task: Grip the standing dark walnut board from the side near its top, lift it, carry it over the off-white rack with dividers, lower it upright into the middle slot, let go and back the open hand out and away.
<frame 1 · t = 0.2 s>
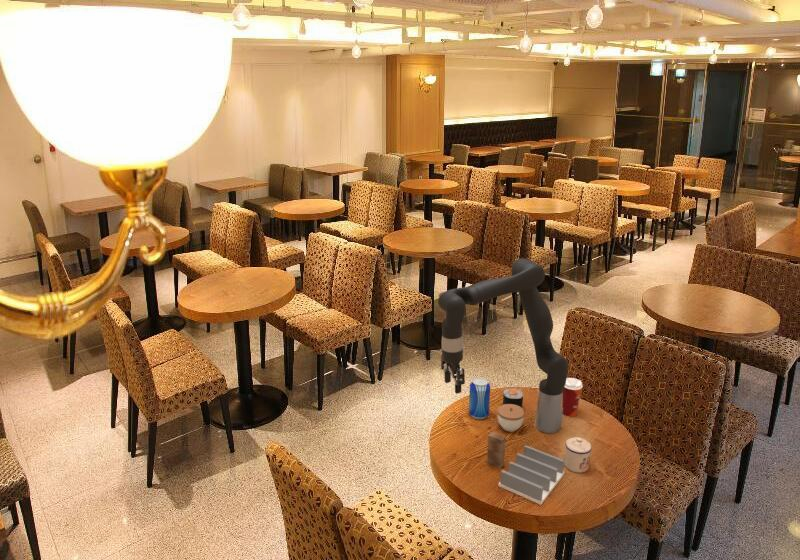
hand: (452, 387, 213), 29 cm above the table, tool pointing down, fingers open, 8 cm apart
sushi: (512, 408, 253), on the table
coffee cup: (569, 413, 249), on the table
beer can: (478, 415, 248), on the table
rack: (531, 479, 208), on the table
lidded jar: (509, 427, 239), on the table
teacup with lid: (577, 464, 217), on the table
walnut board: (495, 463, 217), on the table
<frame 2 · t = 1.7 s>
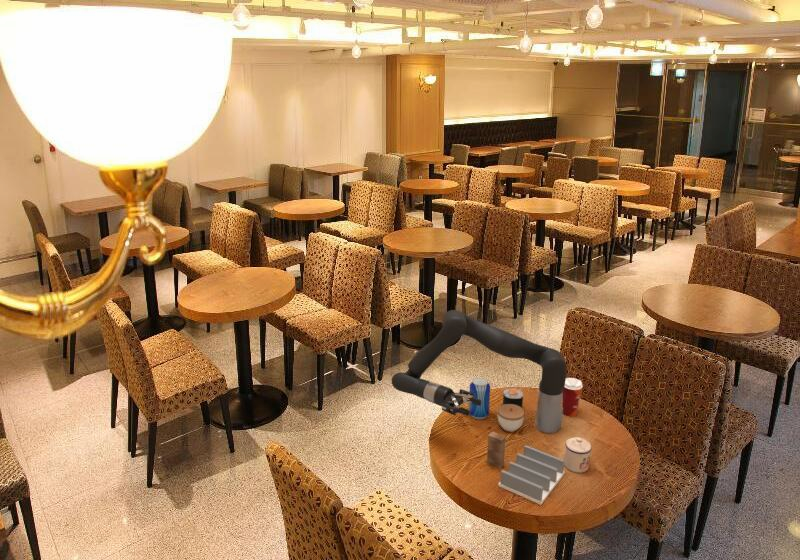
hand: (475, 408, 216), 20 cm above the table, tool horizontal, fingers open, 8 cm apart
nothing on the table moved.
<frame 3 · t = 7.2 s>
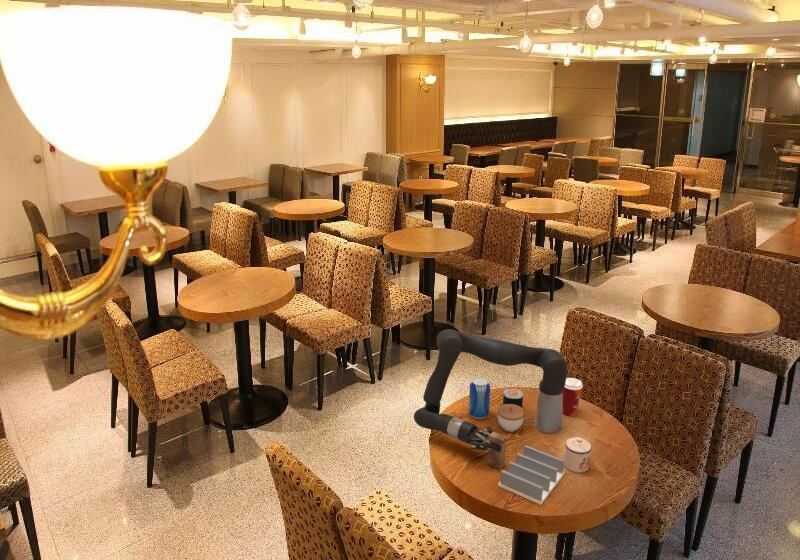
hand: (502, 446, 213), 9 cm above the table, tool horizontal, fingers closed on walnut board, 3 cm apart
walnut board: (496, 463, 217), on the table, touching gripper
everything else where it was.
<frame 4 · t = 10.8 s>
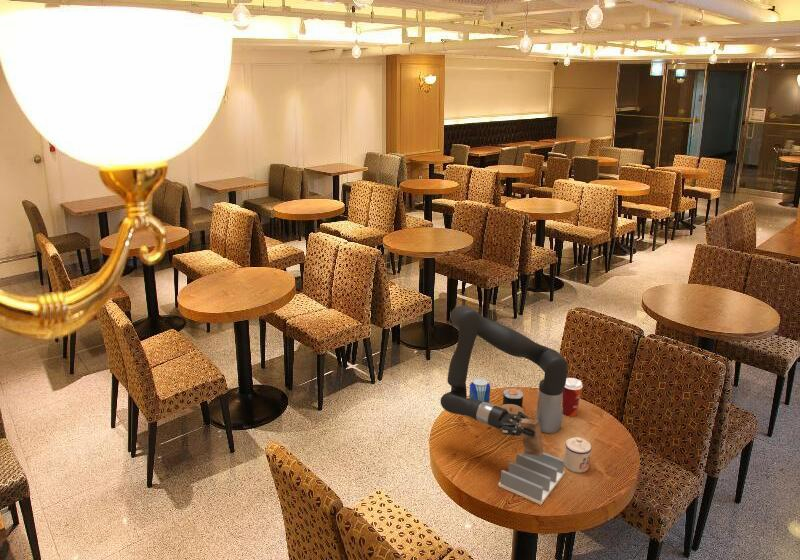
hand: (536, 431, 202), 20 cm above the table, tool horizontal, fingers closed on walnut board, 2 cm apart
walnut board: (534, 452, 204), point 11 cm above the table, tilted 13°, touching gripper
everything else where it was.
when the fingers open (11 cm above the table, at t = 14.1 s): walnut board drops 1 cm, resting on rack.
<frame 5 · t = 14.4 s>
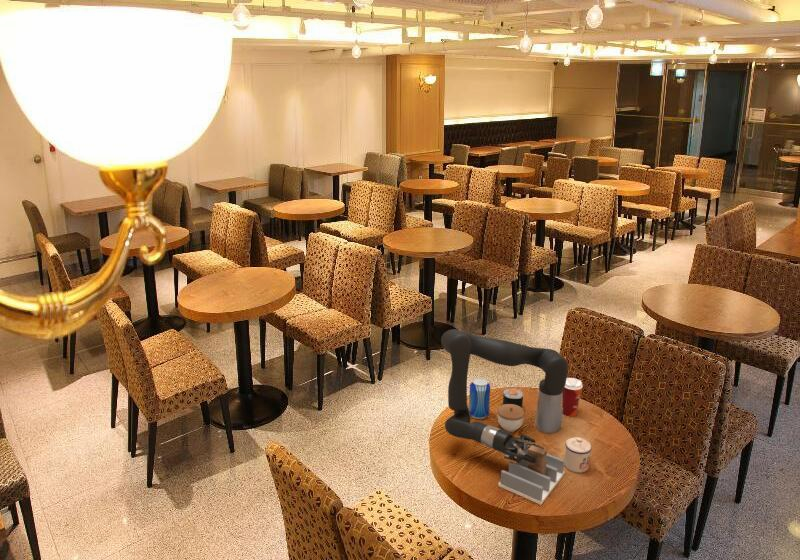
hand: (539, 455, 203), 11 cm above the table, tool horizontal, fingers open, 6 cm apart
walnut board: (536, 478, 207), point 1 cm above the table, touching rack
everything else where it was.
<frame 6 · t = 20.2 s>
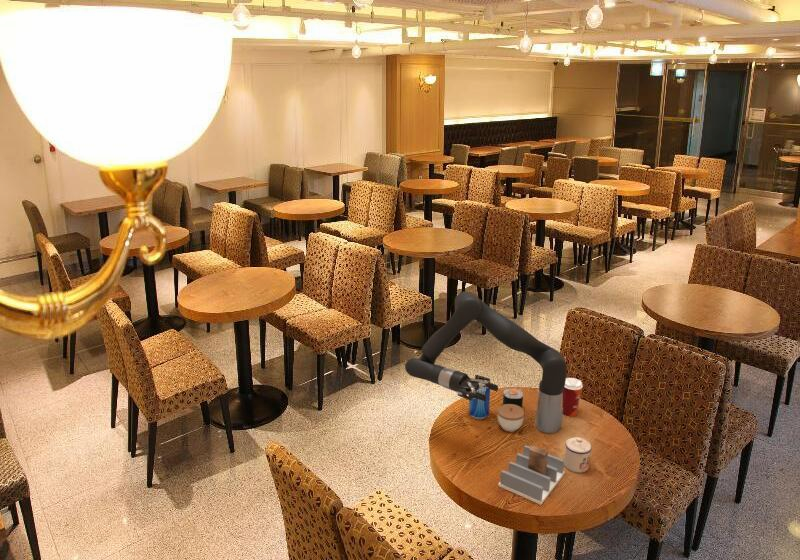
hand: (491, 393, 210), 28 cm above the table, tool horizontal, fingers open, 8 cm apart
nothing on the table moved.
at the end: walnut board 1.5 cm from the rack (horizontally); walnut board point 1.0 cm above the table; walnut board tilted 0° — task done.
